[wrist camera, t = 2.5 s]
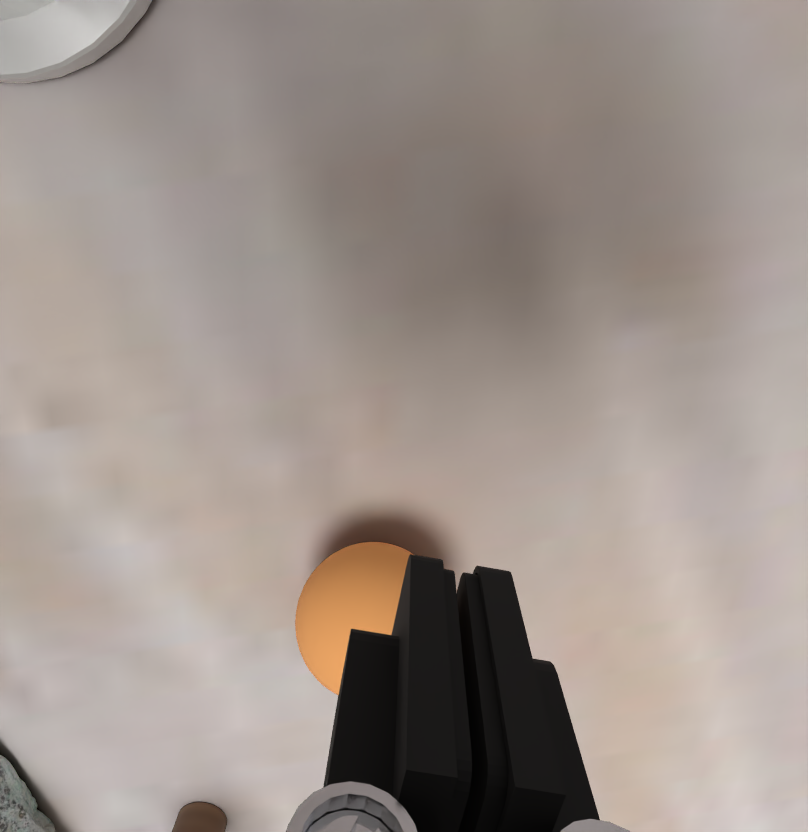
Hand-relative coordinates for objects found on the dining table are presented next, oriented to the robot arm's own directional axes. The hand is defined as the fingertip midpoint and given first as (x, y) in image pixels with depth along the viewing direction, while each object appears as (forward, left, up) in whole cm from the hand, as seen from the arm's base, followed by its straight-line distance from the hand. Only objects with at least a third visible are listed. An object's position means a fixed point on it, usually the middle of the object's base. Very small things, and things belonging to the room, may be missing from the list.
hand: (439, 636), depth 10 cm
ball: (+9, 0, -12) cm, 15 cm away
